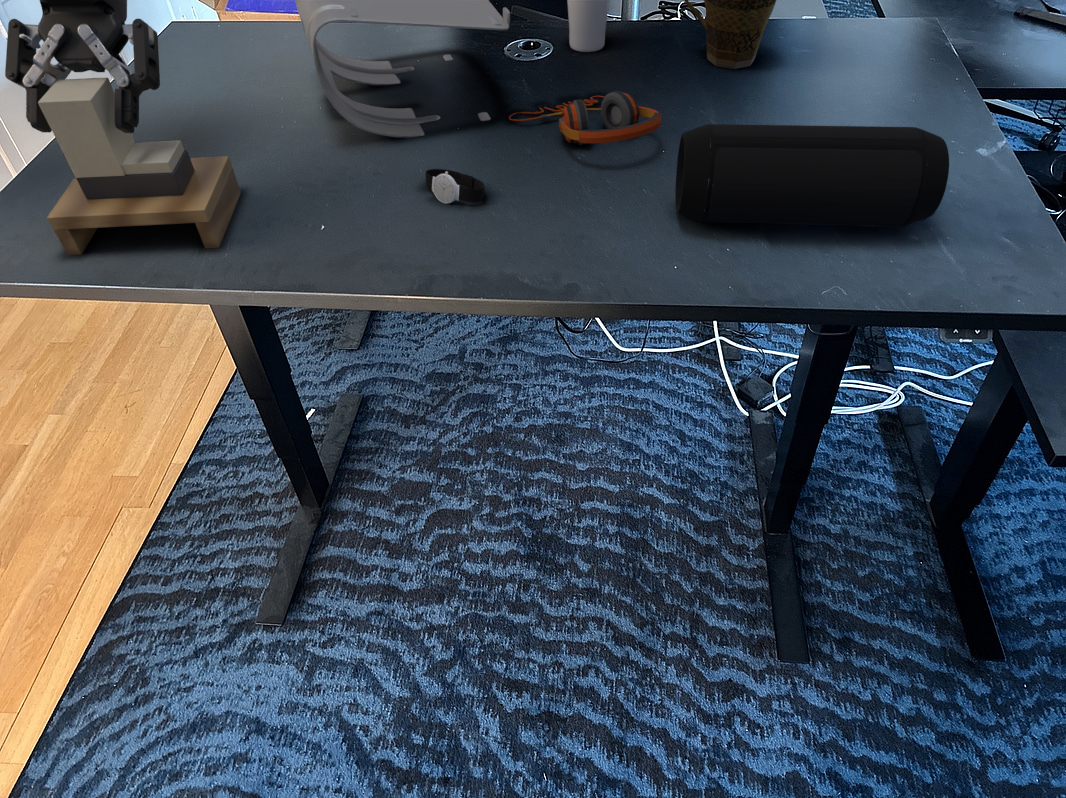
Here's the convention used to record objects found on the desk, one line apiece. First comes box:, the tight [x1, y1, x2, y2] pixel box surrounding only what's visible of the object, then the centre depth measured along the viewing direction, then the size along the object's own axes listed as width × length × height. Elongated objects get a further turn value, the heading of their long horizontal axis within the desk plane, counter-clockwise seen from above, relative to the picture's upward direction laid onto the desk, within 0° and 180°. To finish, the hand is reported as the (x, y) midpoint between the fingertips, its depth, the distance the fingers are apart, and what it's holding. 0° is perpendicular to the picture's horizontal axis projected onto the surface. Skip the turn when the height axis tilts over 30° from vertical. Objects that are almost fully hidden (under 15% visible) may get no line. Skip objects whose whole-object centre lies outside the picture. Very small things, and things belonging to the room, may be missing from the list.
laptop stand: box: [294, 0, 511, 139], centre depth 101 cm, size 26×24×16 cm
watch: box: [425, 168, 486, 204], centre depth 87 cm, size 8×5×4 cm, turn 56°
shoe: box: [38, 77, 195, 199], centre depth 78 cm, size 10×5×10 cm, turn 93°
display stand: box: [46, 155, 242, 256], centre depth 84 cm, size 16×11×5 cm
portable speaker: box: [674, 123, 950, 228], centre depth 80 cm, size 26×10×10 cm, turn 85°
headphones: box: [508, 90, 663, 147], centre depth 96 cm, size 17×5×20 cm
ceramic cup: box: [684, 0, 777, 70], centre depth 109 cm, size 13×10×10 cm
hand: (82, 130), depth 76 cm, fingers open, 8 cm apart
